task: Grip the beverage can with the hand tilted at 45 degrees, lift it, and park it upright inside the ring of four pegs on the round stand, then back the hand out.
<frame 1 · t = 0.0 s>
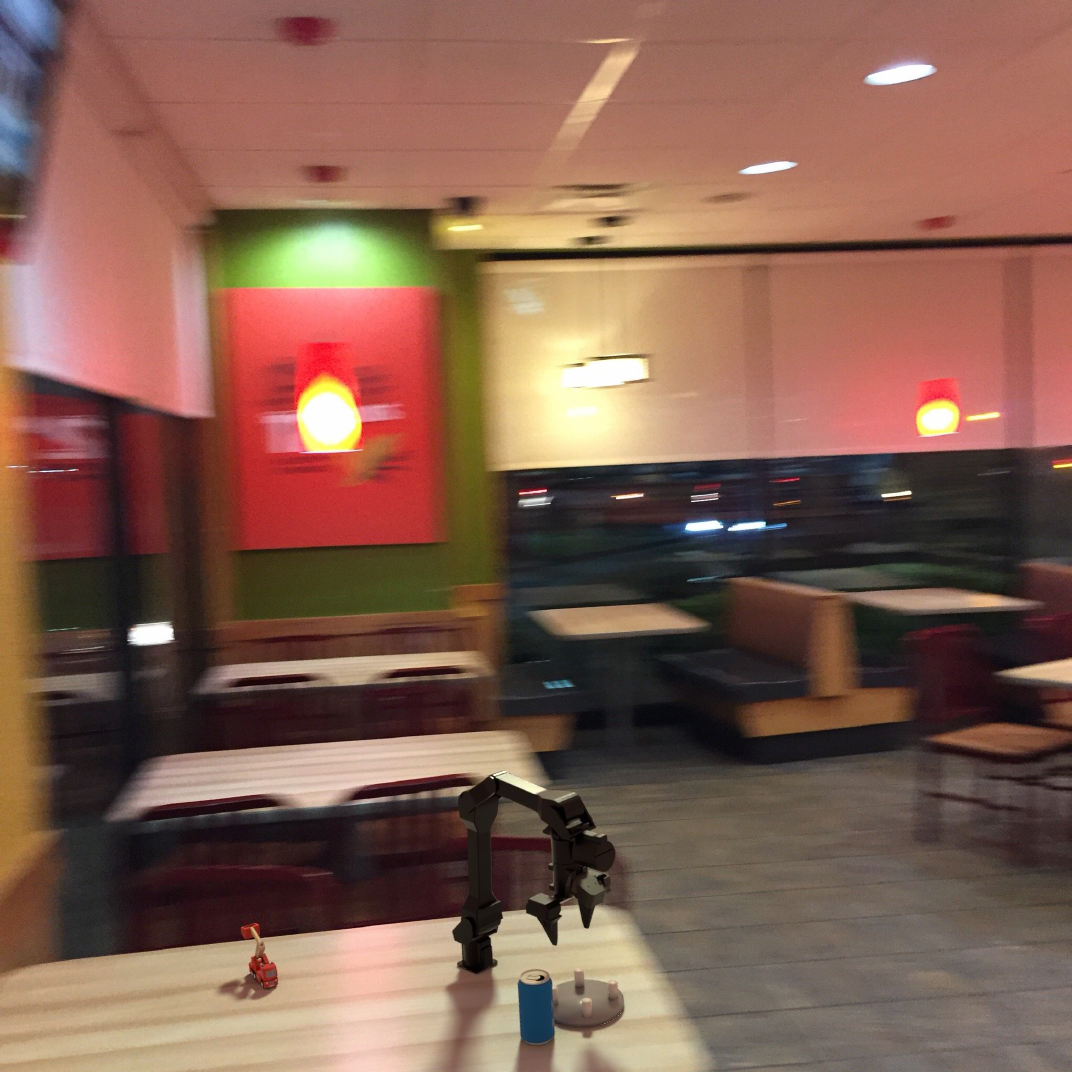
hand: (570, 936, 204), 15 cm above the table, tool pointing down, fingers open, 9 cm apart
toy fire truck: (261, 977, 225), on the table
beverage can: (537, 1038, 195), on the table
peg stand: (583, 1005, 206), on the table
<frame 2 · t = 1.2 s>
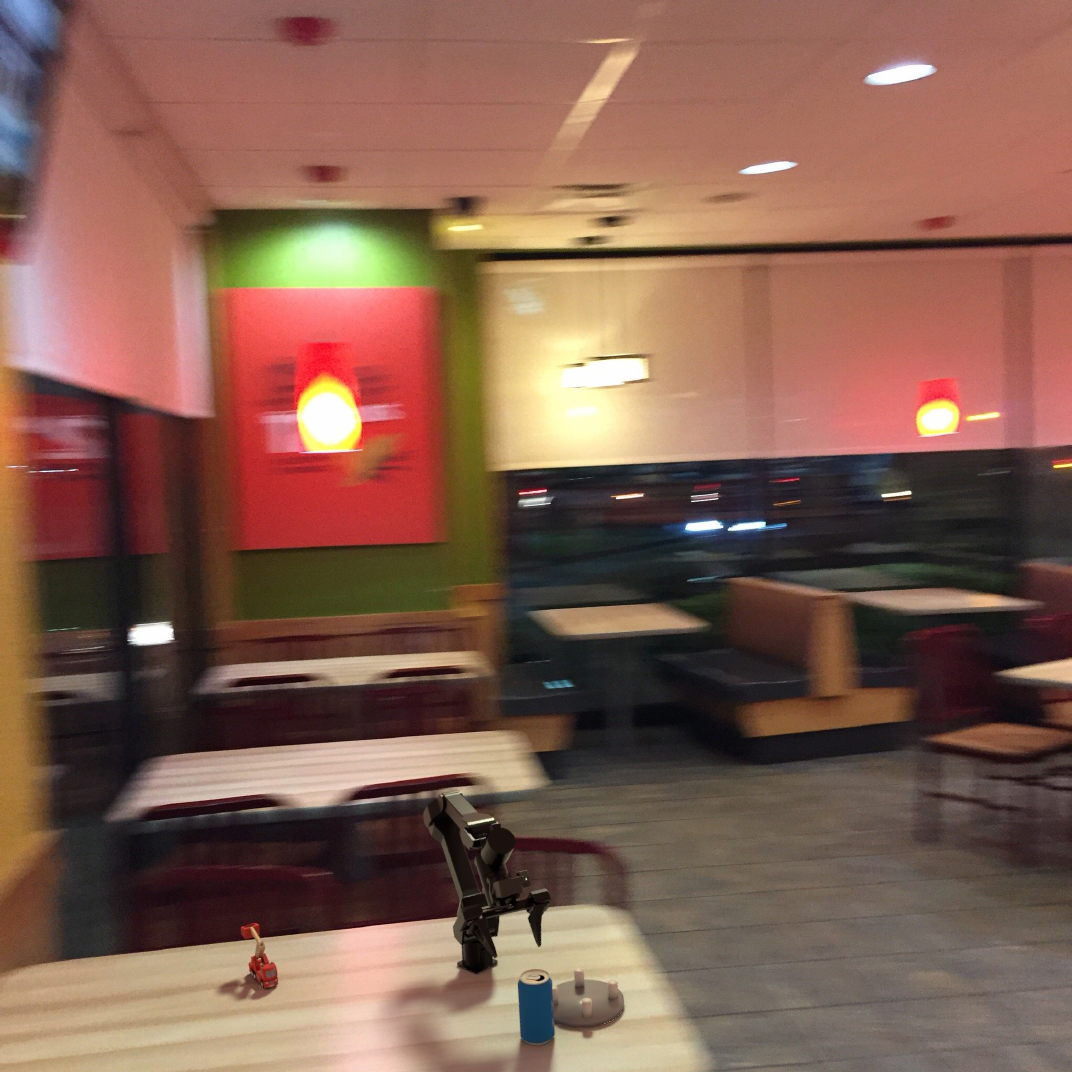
hand: (518, 951, 201), 13 cm above the table, tool tilted 45°, fingers open, 9 cm apart
nothing on the table moved.
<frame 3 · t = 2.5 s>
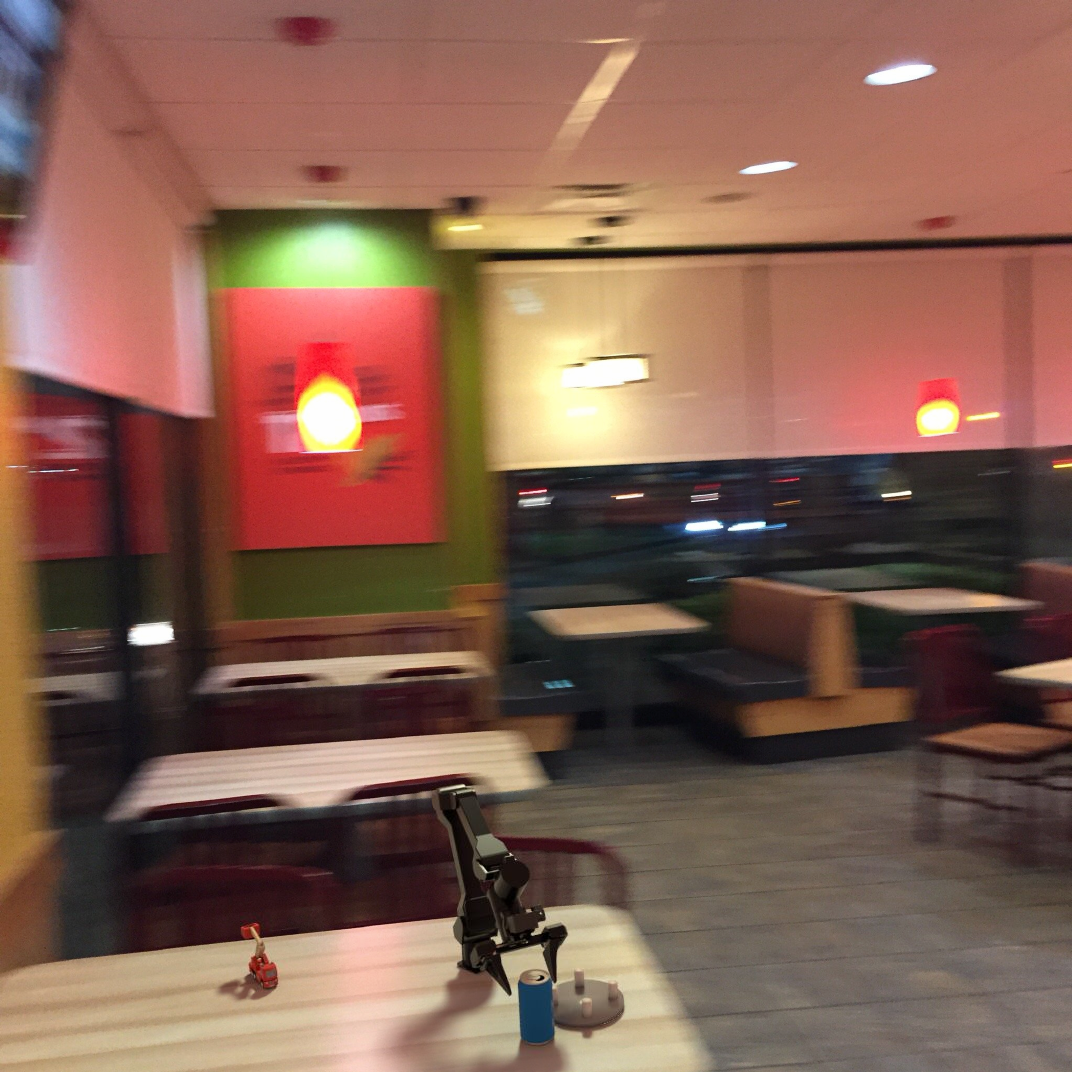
hand: (533, 988, 196), 9 cm above the table, tool tilted 45°, fingers open, 9 cm apart
nothing on the table moved.
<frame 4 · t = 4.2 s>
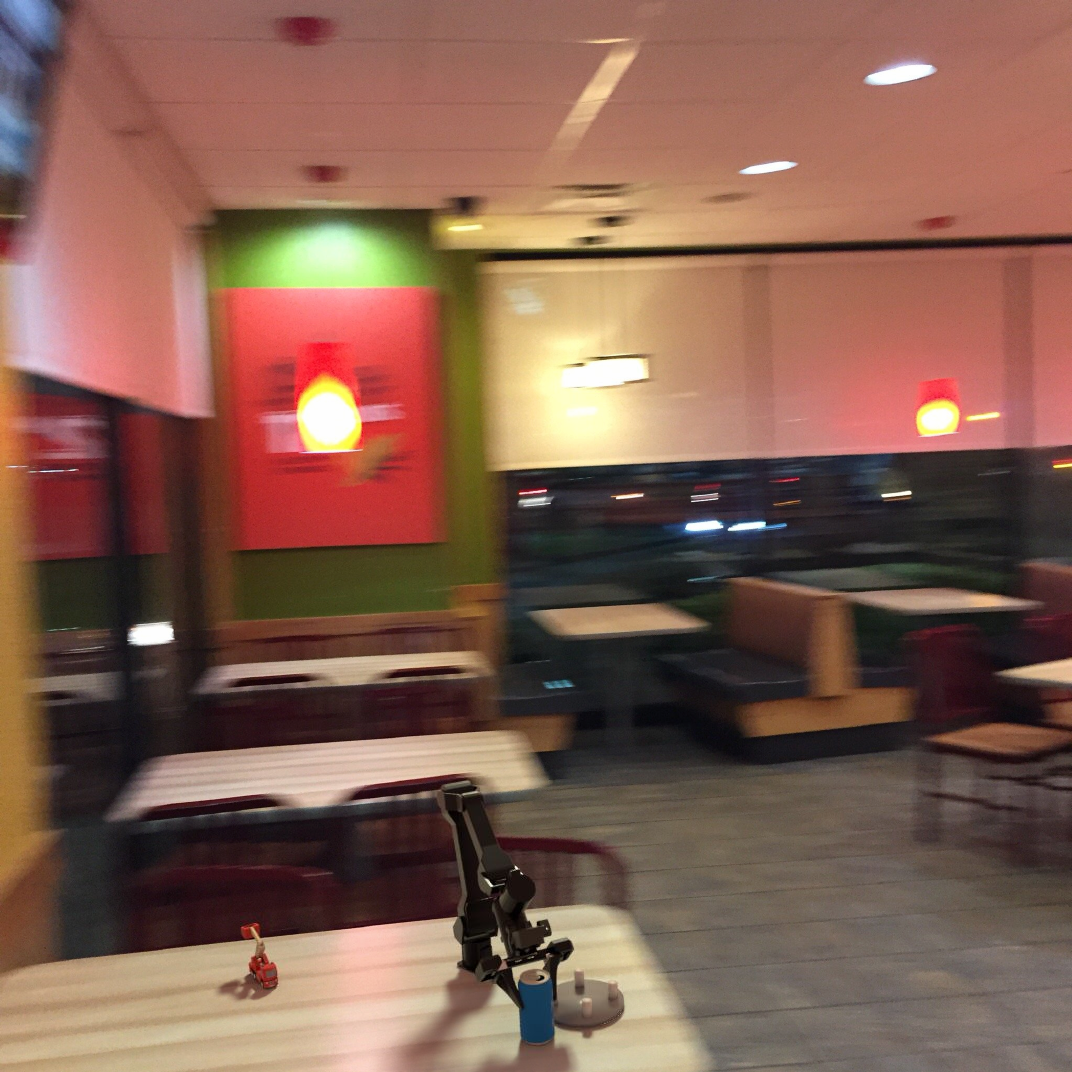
hand: (538, 1004, 194), 7 cm above the table, tool tilted 45°, fingers closed on beverage can, 6 cm apart
beverage can: (537, 1038, 195), on the table, touching gripper
everything else where it was.
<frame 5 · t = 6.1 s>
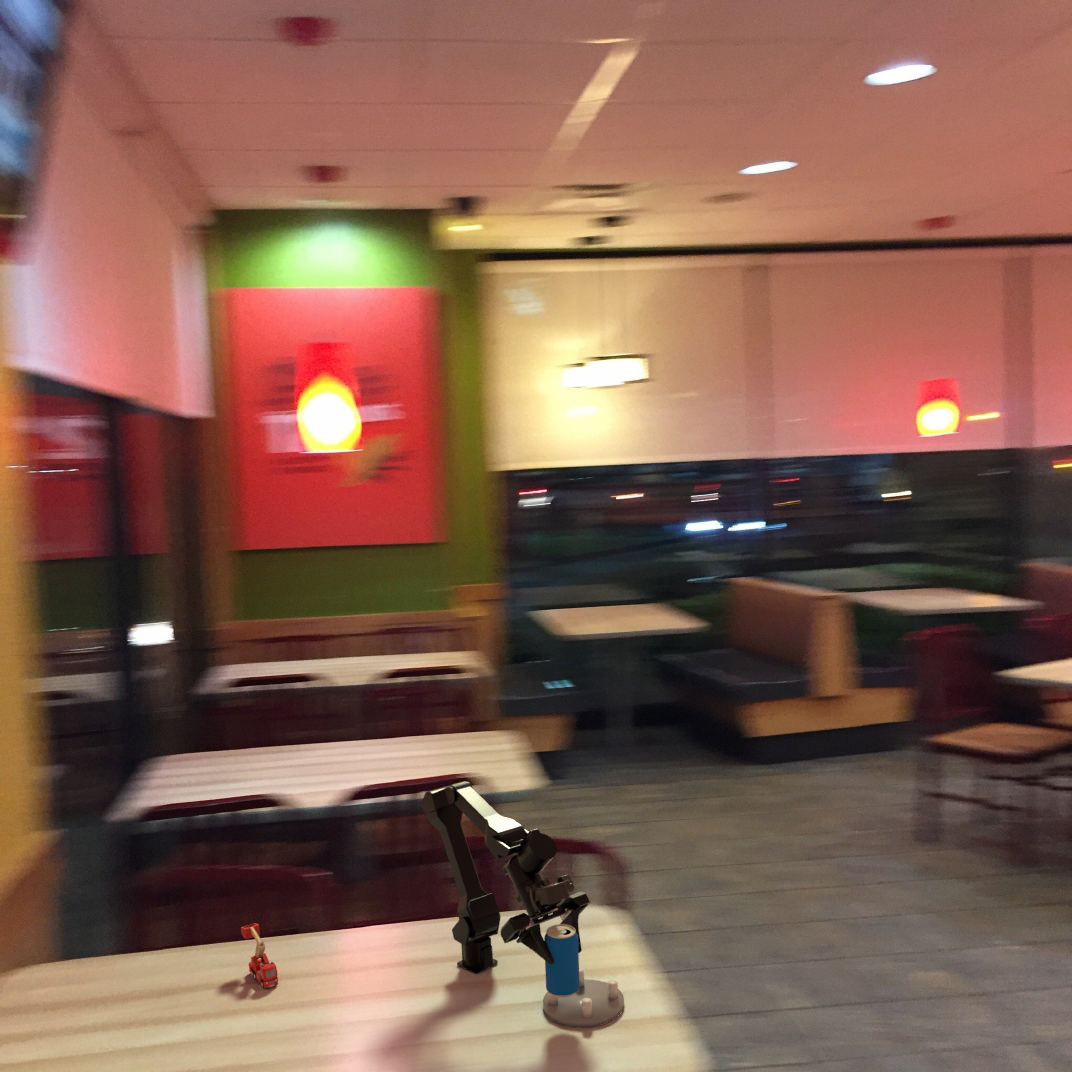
hand: (566, 957, 199), 13 cm above the table, tool tilted 45°, fingers closed on beverage can, 6 cm apart
beverage can: (563, 992, 200), point 6 cm above the table, touching gripper
everything else where it was.
when the fingers open (9 cm above the table, at t = 8.4 s): beverage can drops 1 cm, resting on peg stand.
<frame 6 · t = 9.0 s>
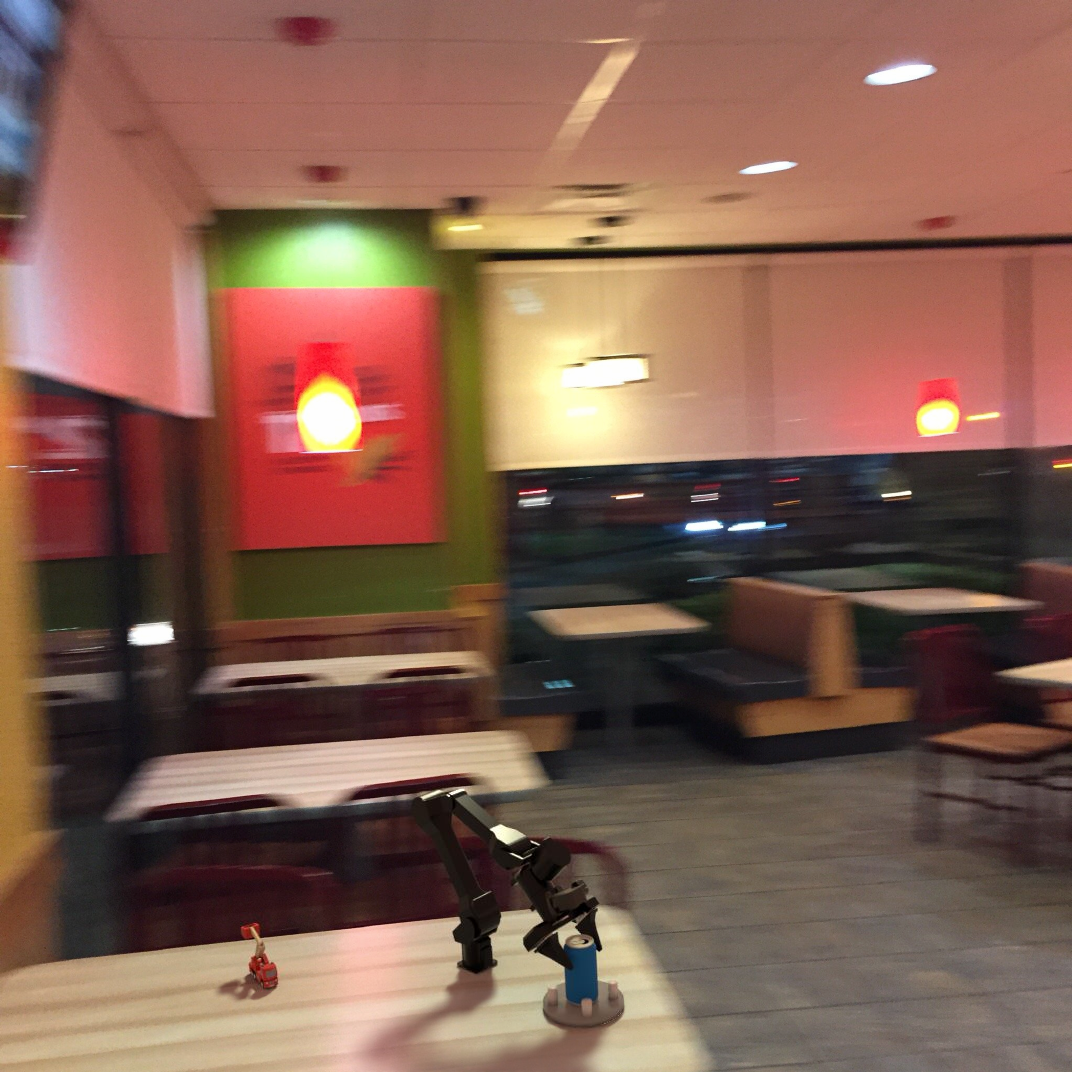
hand: (586, 959, 204), 10 cm above the table, tool tilted 45°, fingers open, 9 cm apart
beverage can: (582, 1000, 206), point 1 cm above the table, touching peg stand
everything else where it was.
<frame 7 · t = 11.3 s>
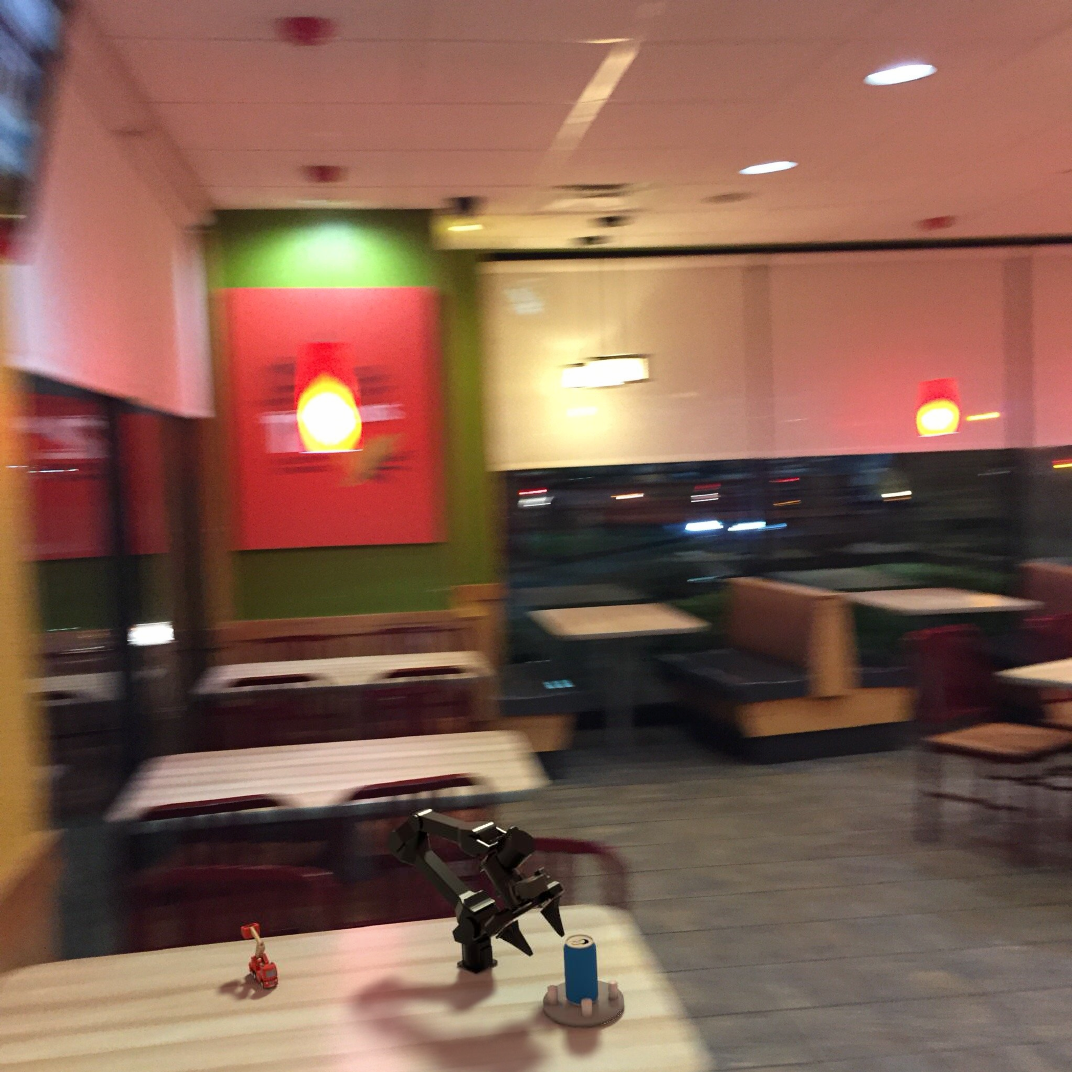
hand: (547, 945, 211), 10 cm above the table, tool tilted 45°, fingers open, 9 cm apart
nothing on the table moved.
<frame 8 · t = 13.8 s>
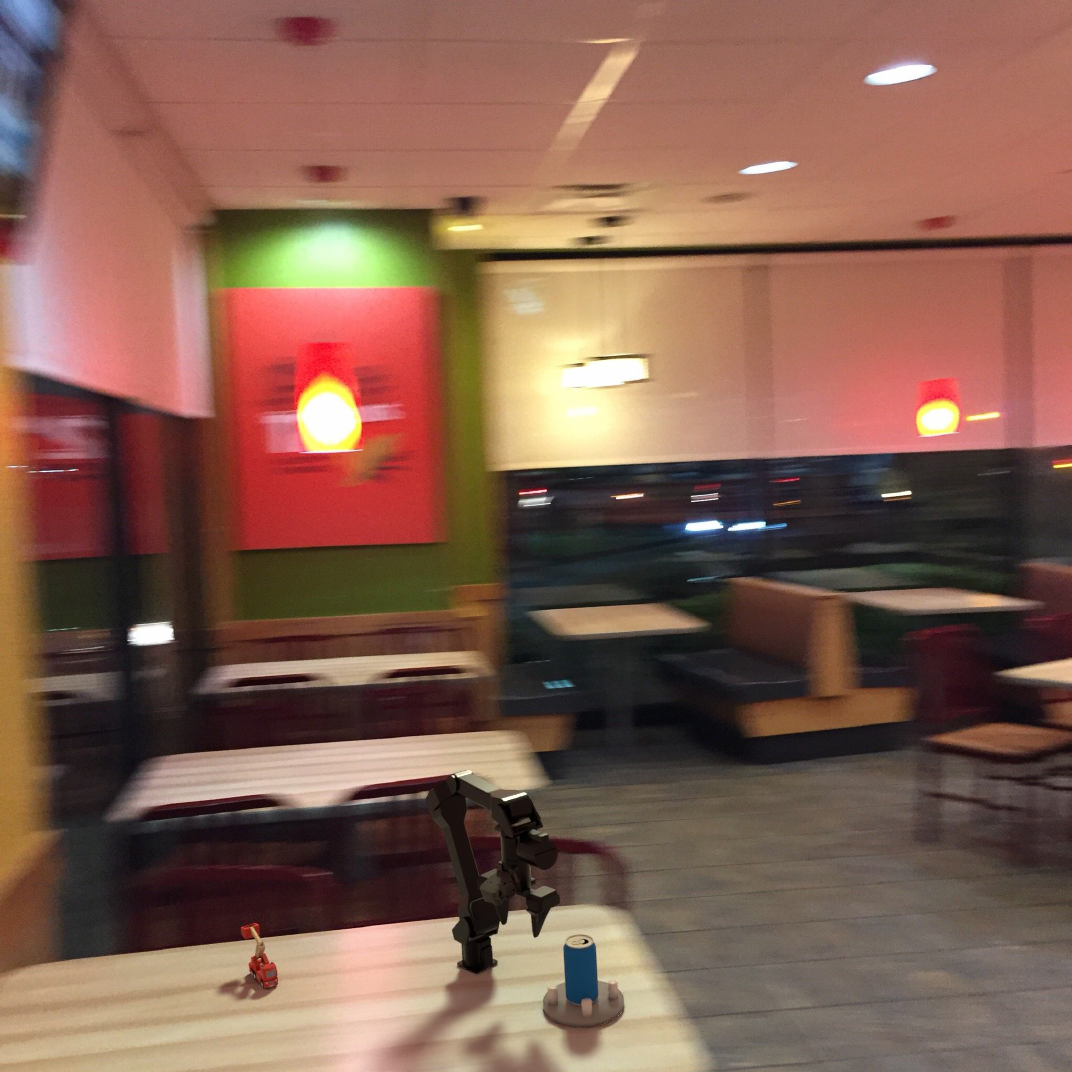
hand: (519, 930, 211), 13 cm above the table, tool pointing down, fingers open, 9 cm apart
nothing on the table moved.
at the end: beverage can 0.2 cm off-centre on the peg stand, point 1.0 cm above the peg stand's base; beverage can tilted 0°; the gripper is holding nothing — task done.
